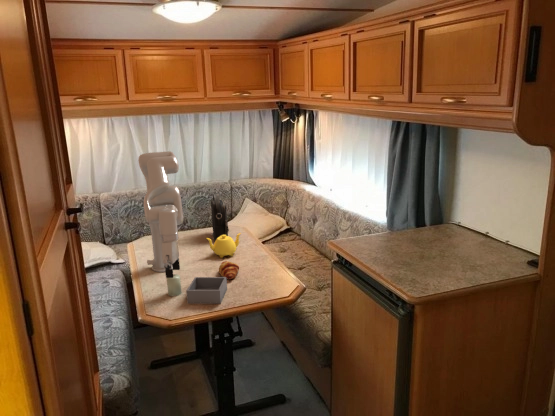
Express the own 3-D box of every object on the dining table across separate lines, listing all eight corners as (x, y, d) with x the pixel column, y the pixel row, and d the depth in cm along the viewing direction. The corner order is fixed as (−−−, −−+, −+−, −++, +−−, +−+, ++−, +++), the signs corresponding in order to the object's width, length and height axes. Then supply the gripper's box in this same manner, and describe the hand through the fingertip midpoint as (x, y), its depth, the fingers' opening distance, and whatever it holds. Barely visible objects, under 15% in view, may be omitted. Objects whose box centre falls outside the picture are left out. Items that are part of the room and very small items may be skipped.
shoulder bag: (210, 232, 297) (207, 190, 290) (224, 231, 299) (221, 189, 292) (215, 243, 276) (212, 198, 269) (230, 241, 278) (227, 196, 271)
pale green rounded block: (166, 296, 206) (164, 279, 204) (170, 290, 212) (168, 274, 210) (179, 296, 205) (177, 279, 203) (183, 290, 211) (181, 274, 209)
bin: (187, 303, 198) (186, 290, 196) (196, 289, 212) (194, 277, 210) (220, 303, 196) (219, 290, 195) (227, 289, 211) (226, 277, 209)
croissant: (221, 273, 239) (213, 261, 237) (238, 262, 240) (230, 250, 238) (226, 288, 219) (217, 275, 217) (244, 277, 220) (235, 264, 217)
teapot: (238, 247, 267) (236, 228, 264) (245, 255, 253) (244, 235, 250) (204, 252, 260) (202, 233, 257) (210, 261, 246) (208, 241, 244)
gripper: (167, 231, 210) (170, 267, 214) (154, 242, 194) (158, 281, 197) (183, 231, 210) (186, 266, 213) (171, 242, 193) (175, 280, 197)
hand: (173, 273), depth 205 cm, fingers open, 9 cm apart
